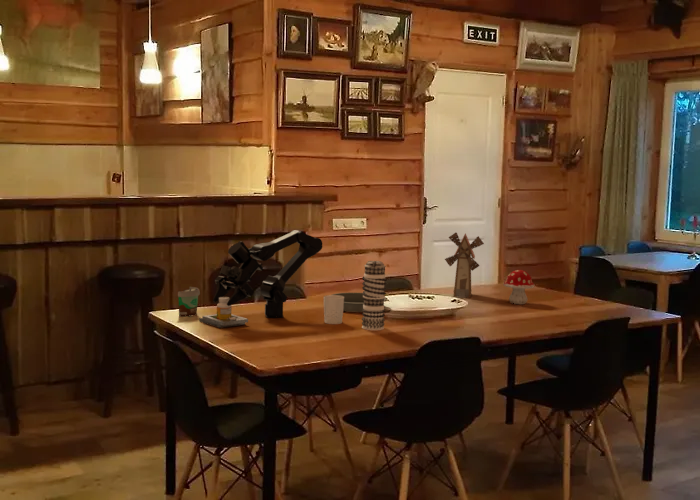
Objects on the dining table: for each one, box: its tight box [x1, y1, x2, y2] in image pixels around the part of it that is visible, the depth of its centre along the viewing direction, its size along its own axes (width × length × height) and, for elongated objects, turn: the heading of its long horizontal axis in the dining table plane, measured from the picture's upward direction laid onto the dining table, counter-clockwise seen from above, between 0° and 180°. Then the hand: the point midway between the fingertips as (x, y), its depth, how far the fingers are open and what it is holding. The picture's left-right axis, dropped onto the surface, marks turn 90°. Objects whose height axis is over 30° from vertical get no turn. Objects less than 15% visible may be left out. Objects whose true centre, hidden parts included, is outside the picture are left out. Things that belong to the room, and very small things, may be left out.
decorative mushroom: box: [502, 269, 535, 305], centre depth 369 cm, size 14×14×15 cm
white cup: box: [323, 294, 344, 325], centre depth 316 cm, size 8×8×10 cm
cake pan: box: [331, 292, 387, 313], centre depth 349 cm, size 25×25×4 cm
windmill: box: [444, 232, 485, 299], centre depth 383 cm, size 18×13×30 cm
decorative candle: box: [361, 260, 388, 331], centre depth 307 cm, size 9×9×25 cm
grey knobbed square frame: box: [198, 313, 249, 329], centre depth 309 cm, size 16×11×3 cm
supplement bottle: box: [216, 296, 232, 320], centre depth 309 cm, size 5×5×10 cm
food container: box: [177, 286, 201, 317], centre depth 323 cm, size 12×6×10 cm, turn 168°
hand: (220, 303), depth 307 cm, fingers open, 9 cm apart
